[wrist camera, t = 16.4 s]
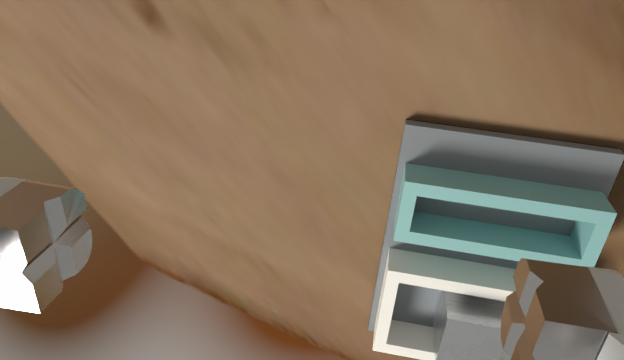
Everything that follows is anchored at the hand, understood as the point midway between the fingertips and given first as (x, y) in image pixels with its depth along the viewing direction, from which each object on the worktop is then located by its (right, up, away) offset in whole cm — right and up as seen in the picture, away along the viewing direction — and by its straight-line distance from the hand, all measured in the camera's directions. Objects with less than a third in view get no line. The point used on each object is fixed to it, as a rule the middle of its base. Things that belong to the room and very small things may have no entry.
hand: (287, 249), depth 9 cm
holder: (+14, -4, +32) cm, 35 cm away
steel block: (+13, -9, +33) cm, 37 cm away
